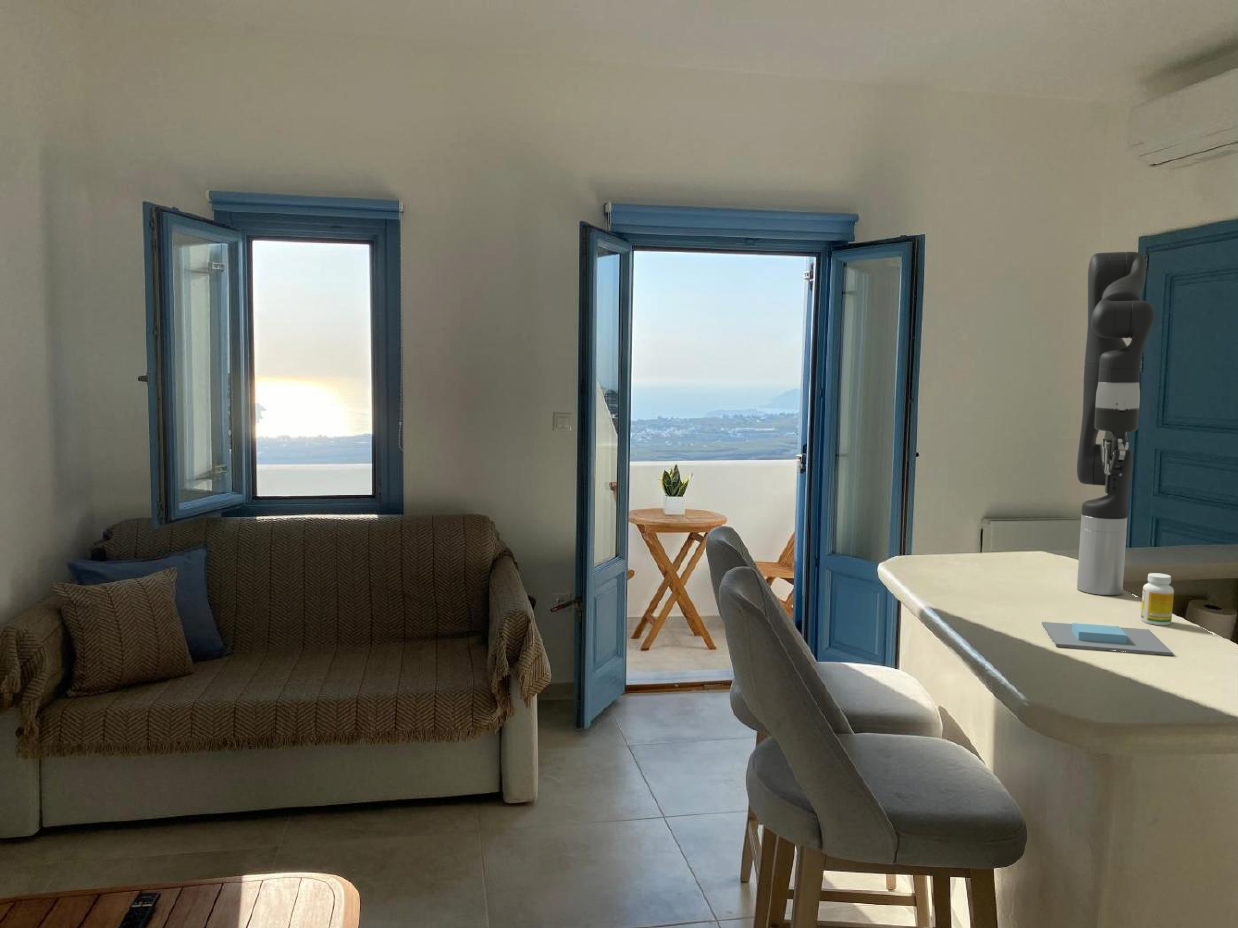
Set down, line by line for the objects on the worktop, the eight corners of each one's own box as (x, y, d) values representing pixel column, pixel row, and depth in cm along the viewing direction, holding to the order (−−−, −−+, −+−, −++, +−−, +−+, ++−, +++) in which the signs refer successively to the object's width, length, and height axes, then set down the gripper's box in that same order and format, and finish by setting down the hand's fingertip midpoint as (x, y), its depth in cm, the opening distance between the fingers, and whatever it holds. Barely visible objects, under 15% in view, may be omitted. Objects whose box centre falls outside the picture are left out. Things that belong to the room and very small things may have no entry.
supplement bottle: (1134, 619, 190) (1137, 572, 189) (1156, 617, 191) (1159, 571, 190) (1155, 626, 185) (1159, 578, 184) (1178, 624, 186) (1181, 577, 185)
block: (1072, 622, 179) (1078, 631, 173) (1118, 626, 177) (1126, 635, 171) (1071, 631, 179) (1078, 640, 173) (1118, 634, 177) (1126, 643, 171)
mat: (1041, 624, 186) (1041, 621, 186) (1148, 632, 181) (1148, 629, 181) (1056, 646, 171) (1056, 643, 171) (1172, 655, 166) (1172, 652, 166)
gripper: (1088, 403, 189) (1083, 488, 191) (1103, 408, 176) (1098, 499, 179) (1129, 403, 187) (1124, 489, 190) (1148, 408, 175) (1142, 500, 177)
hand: (1111, 493), depth 184 cm, fingers closed
